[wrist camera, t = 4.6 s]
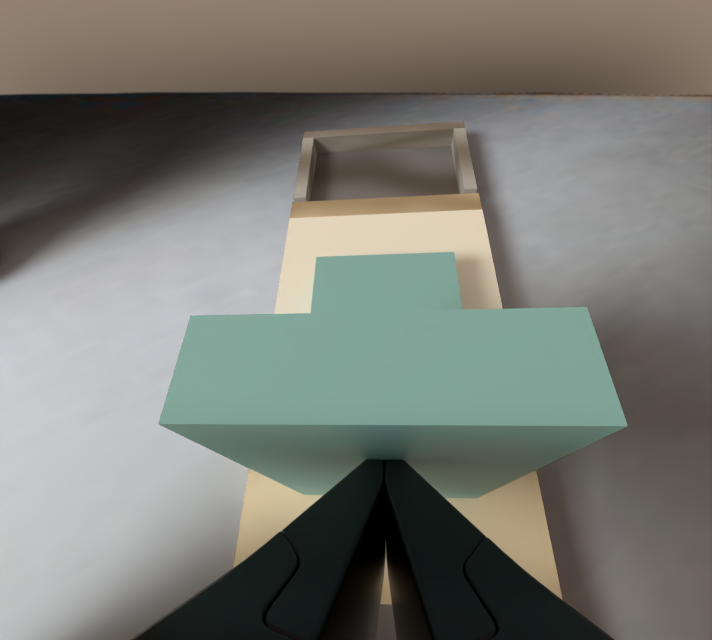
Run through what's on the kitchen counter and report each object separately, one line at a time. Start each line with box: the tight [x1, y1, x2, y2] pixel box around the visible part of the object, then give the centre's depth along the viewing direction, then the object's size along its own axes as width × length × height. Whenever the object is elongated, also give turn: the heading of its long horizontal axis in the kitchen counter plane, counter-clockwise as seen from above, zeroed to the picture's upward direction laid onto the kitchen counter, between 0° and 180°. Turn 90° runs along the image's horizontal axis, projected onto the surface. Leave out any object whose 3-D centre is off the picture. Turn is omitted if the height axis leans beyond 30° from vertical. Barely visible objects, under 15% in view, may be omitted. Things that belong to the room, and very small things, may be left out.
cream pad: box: [274, 209, 503, 314], centre depth 22 cm, size 8×12×2 cm, turn 89°
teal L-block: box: [159, 252, 628, 498], centre depth 13 cm, size 11×7×11 cm, turn 179°
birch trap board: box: [233, 121, 563, 640], centre depth 19 cm, size 37×12×2 cm, turn 179°
